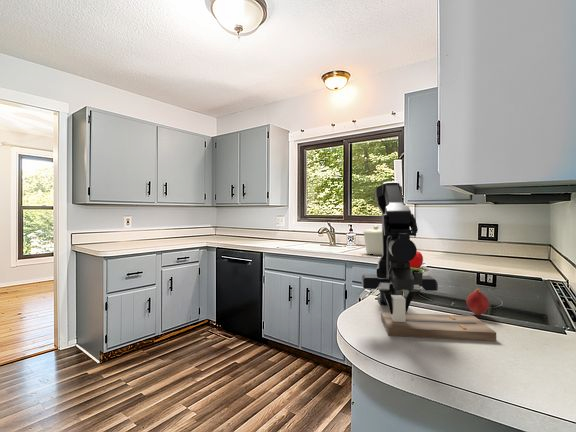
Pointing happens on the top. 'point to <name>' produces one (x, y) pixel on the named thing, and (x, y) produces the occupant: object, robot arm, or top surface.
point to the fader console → (438, 327)
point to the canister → (373, 240)
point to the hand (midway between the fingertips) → (397, 314)
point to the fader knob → (398, 308)
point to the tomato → (416, 261)
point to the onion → (477, 302)
